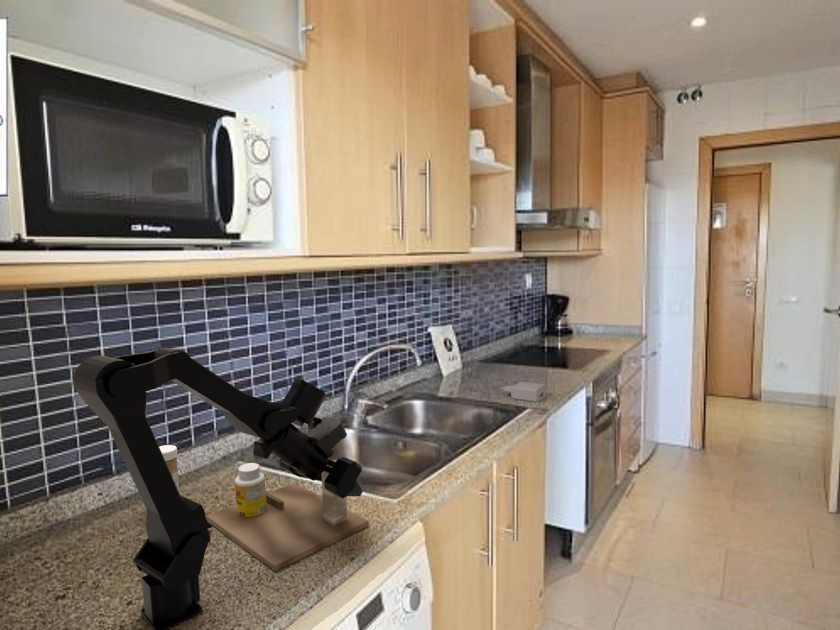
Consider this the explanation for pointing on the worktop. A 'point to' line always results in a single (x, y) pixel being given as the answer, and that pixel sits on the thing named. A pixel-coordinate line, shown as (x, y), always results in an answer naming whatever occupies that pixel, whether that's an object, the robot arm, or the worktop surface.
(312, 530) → the square wooden board
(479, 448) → the worktop surface
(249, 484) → the supplement bottle
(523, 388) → the charger
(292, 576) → the worktop surface
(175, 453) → the sprinkles bottle
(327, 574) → the worktop surface
